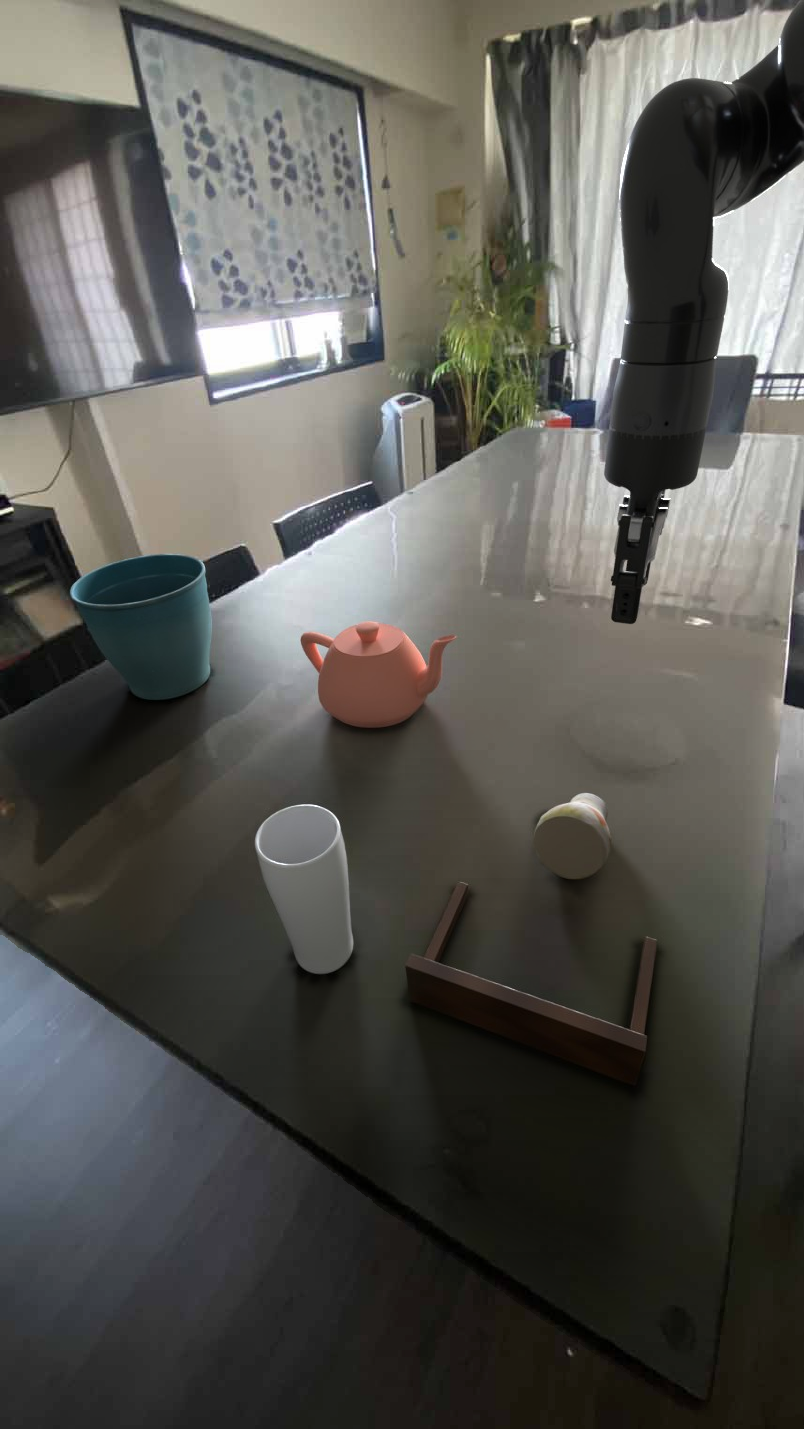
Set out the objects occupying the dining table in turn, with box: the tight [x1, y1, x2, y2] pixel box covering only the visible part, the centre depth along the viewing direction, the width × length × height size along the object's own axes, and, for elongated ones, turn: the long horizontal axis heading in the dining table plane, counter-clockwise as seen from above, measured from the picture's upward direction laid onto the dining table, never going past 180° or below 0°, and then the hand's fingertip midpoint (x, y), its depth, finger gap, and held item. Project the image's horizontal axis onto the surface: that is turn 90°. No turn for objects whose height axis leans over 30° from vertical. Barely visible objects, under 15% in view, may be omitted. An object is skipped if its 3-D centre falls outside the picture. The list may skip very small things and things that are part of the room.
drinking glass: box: [254, 804, 355, 975], centre depth 53 cm, size 7×7×15 cm
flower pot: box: [69, 553, 213, 701], centre depth 94 cm, size 18×18×17 cm
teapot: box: [300, 620, 457, 729], centre depth 85 cm, size 22×15×12 cm
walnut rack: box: [404, 881, 658, 1087], centre depth 53 cm, size 18×12×5 cm
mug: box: [533, 792, 612, 880], centre depth 63 cm, size 8×10×10 cm
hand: (629, 601), depth 62 cm, fingers open, 8 cm apart
